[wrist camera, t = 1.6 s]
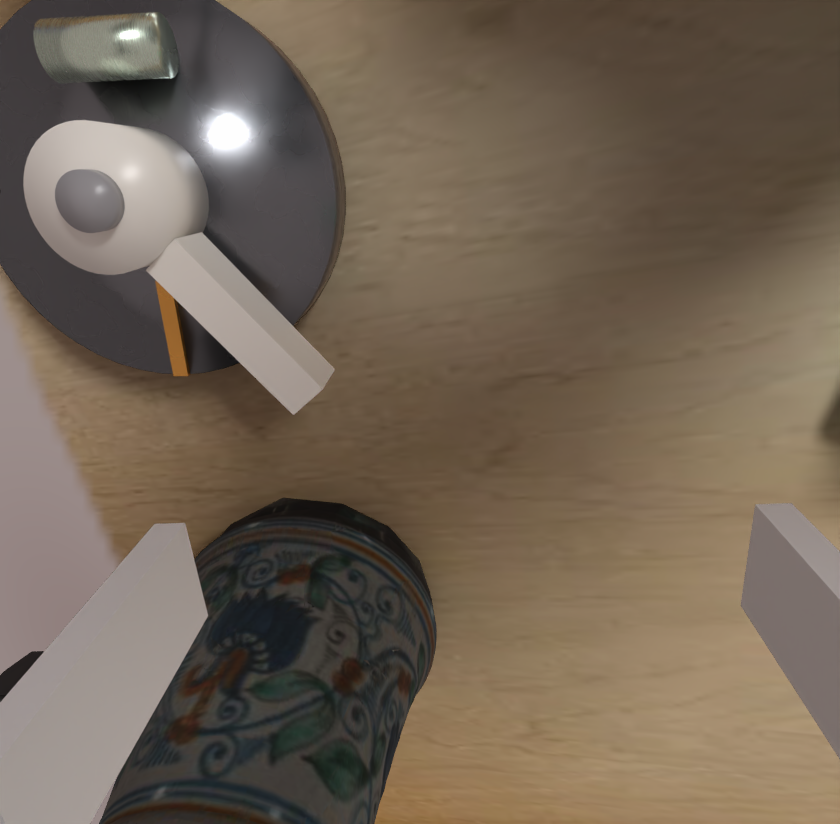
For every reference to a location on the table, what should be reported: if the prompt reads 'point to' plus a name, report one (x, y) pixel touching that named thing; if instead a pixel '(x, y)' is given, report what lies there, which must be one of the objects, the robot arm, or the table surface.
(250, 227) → the base
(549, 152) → the table surface
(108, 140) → the knob
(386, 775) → the beer stein
